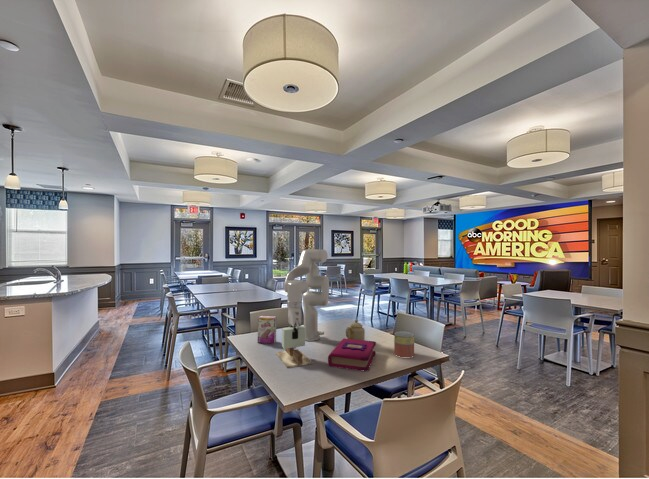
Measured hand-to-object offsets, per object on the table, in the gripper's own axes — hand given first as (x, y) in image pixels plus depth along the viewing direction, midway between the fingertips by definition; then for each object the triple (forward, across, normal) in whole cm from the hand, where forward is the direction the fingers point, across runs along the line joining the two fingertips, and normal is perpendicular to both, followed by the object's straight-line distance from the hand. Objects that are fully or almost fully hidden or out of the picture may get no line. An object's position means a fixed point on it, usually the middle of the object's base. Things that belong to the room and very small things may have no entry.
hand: (293, 337), depth 167 cm
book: (+12, -14, -30) cm, 35 cm away
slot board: (+12, 0, 0) cm, 12 cm away
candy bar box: (+12, +33, +7) cm, 36 cm away
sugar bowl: (+12, +11, -46) cm, 49 cm away
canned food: (+12, -19, -61) cm, 65 cm away
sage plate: (+5, 0, 0) cm, 5 cm away
